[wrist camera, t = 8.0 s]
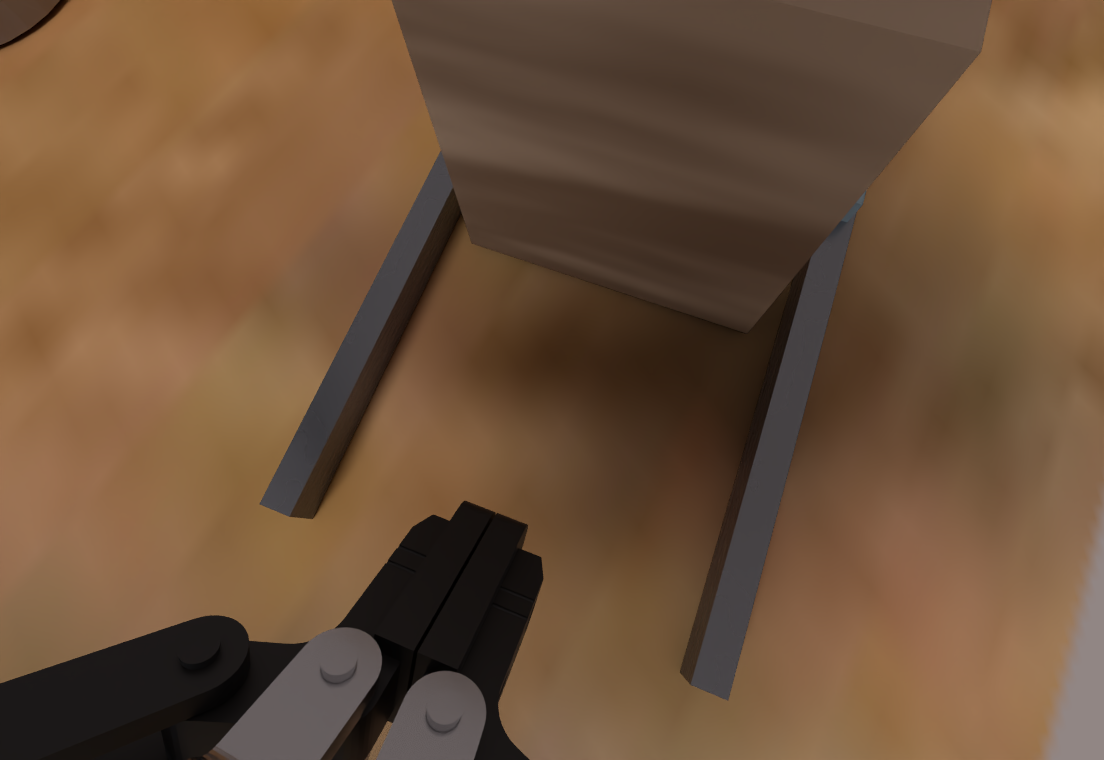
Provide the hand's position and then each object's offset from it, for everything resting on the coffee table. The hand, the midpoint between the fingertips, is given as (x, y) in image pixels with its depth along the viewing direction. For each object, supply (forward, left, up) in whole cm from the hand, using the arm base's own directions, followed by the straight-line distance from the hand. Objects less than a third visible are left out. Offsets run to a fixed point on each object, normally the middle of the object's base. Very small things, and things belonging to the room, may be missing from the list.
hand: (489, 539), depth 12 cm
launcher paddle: (-8, +7, -5) cm, 12 cm away
